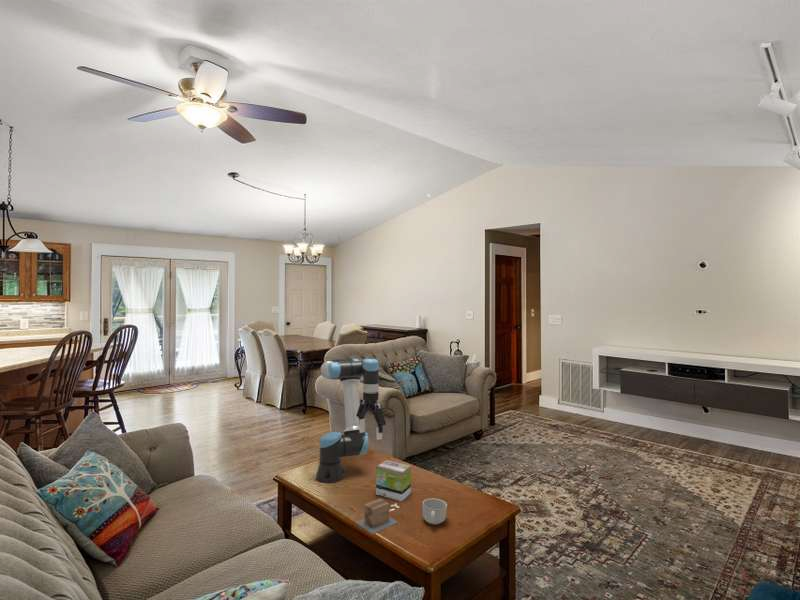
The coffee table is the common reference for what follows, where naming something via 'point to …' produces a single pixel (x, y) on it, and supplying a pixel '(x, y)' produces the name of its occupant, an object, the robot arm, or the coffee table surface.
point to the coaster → (378, 528)
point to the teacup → (434, 510)
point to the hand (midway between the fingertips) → (370, 435)
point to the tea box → (393, 480)
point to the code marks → (395, 506)
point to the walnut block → (376, 513)
